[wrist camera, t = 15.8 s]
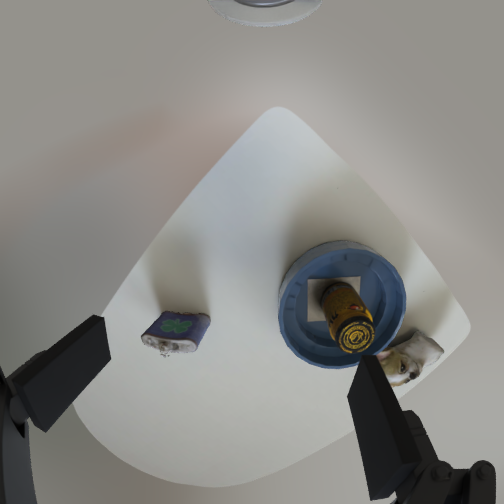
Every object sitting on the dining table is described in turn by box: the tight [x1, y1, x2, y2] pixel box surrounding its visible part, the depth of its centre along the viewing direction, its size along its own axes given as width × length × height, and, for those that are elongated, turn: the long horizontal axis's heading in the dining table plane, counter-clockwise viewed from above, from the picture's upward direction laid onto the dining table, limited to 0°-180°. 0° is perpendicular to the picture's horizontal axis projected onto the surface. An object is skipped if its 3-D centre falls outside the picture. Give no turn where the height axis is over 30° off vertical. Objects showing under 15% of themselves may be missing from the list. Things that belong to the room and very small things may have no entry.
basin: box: [278, 241, 406, 369], centre depth 40 cm, size 19×19×6 cm
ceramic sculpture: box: [376, 331, 444, 387], centre depth 40 cm, size 11×9×15 cm
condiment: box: [308, 276, 376, 354], centre depth 37 cm, size 7×8×12 cm
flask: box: [141, 311, 210, 357], centre depth 42 cm, size 9×3×11 cm, turn 90°
